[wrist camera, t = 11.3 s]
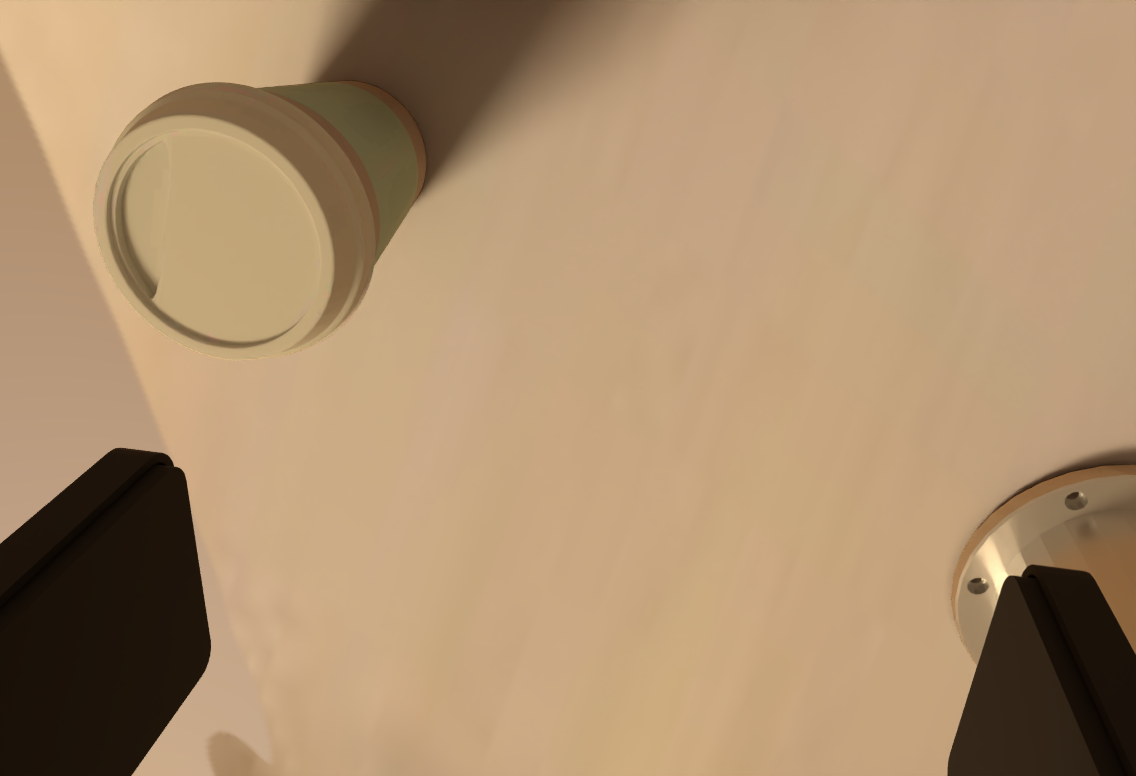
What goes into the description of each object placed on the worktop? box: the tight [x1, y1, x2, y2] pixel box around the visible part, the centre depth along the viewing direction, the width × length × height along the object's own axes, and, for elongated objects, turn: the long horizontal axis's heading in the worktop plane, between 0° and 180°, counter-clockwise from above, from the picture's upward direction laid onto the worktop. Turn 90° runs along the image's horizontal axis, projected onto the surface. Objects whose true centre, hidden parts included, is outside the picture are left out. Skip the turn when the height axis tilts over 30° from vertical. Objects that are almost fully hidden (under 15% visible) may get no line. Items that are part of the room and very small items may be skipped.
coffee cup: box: [93, 81, 426, 360], centre depth 33 cm, size 9×8×12 cm
